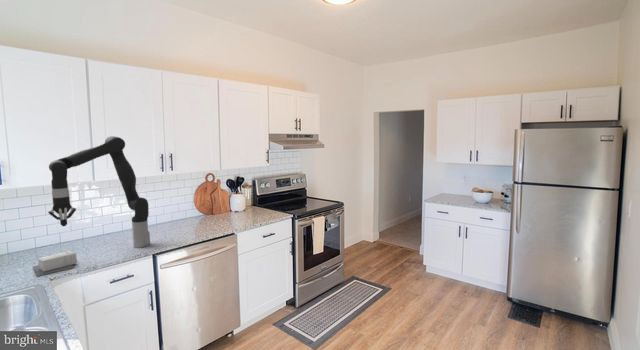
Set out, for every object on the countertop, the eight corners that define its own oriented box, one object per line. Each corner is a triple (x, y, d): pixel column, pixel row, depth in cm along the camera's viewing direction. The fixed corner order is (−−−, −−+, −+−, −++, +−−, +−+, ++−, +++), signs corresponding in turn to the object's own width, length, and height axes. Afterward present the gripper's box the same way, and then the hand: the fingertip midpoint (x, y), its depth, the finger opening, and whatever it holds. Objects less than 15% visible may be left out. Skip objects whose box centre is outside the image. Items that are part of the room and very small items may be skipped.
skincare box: (72, 260, 192) (38, 269, 180) (71, 249, 191) (37, 257, 179) (77, 263, 187) (43, 272, 175) (76, 252, 186) (41, 260, 174)
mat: (68, 259, 195) (68, 258, 195) (74, 267, 183) (74, 266, 182) (33, 267, 183) (32, 266, 183) (37, 276, 171) (37, 275, 171)
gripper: (74, 193, 190) (76, 222, 192) (44, 196, 181) (48, 227, 183) (76, 195, 185) (79, 224, 187) (46, 198, 176) (50, 229, 178)
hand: (64, 225), depth 185 cm, fingers closed
